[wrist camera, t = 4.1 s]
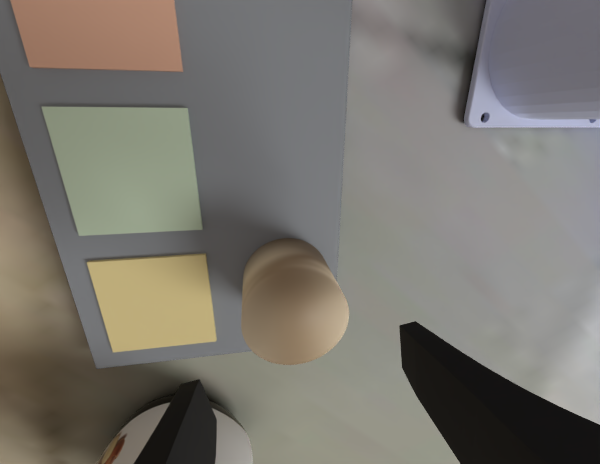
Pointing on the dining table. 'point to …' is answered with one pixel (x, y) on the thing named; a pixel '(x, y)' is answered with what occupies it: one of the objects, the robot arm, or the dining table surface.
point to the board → (177, 153)
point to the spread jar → (137, 430)
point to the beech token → (291, 303)
